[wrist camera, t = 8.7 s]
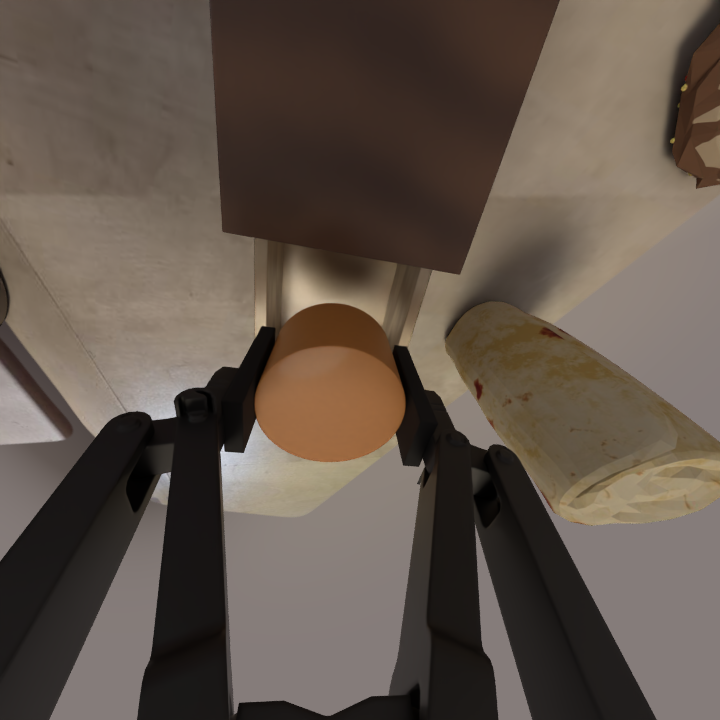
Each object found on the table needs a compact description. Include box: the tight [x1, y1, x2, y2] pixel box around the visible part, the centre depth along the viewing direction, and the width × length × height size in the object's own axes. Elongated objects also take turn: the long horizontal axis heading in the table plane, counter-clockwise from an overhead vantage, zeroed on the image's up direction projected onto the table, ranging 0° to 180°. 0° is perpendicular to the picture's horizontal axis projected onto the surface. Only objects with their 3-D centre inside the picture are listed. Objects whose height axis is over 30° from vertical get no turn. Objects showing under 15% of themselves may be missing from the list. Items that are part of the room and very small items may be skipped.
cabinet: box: [209, 0, 560, 274], centre depth 16 cm, size 17×14×10 cm
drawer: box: [254, 238, 432, 352], centre depth 24 cm, size 20×12×8 cm, turn 169°
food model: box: [445, 301, 720, 526], centre depth 22 cm, size 10×7×20 cm
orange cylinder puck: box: [254, 303, 406, 462], centre depth 15 cm, size 7×7×5 cm
